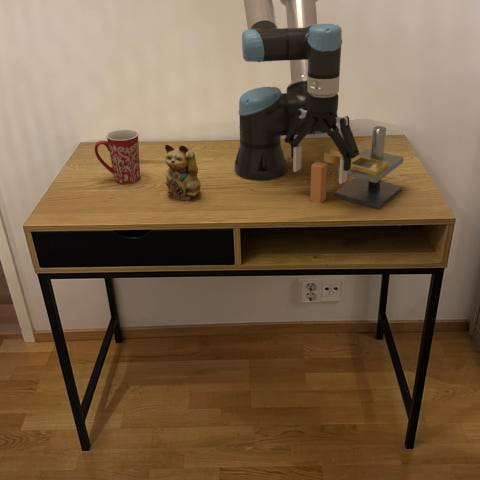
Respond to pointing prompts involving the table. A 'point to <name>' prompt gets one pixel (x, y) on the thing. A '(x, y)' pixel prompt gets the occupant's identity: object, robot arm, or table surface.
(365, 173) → the grey and yellow stand
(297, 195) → the table surface
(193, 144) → the table surface
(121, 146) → the mug
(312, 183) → the wedge pin
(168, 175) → the decorative figurine
